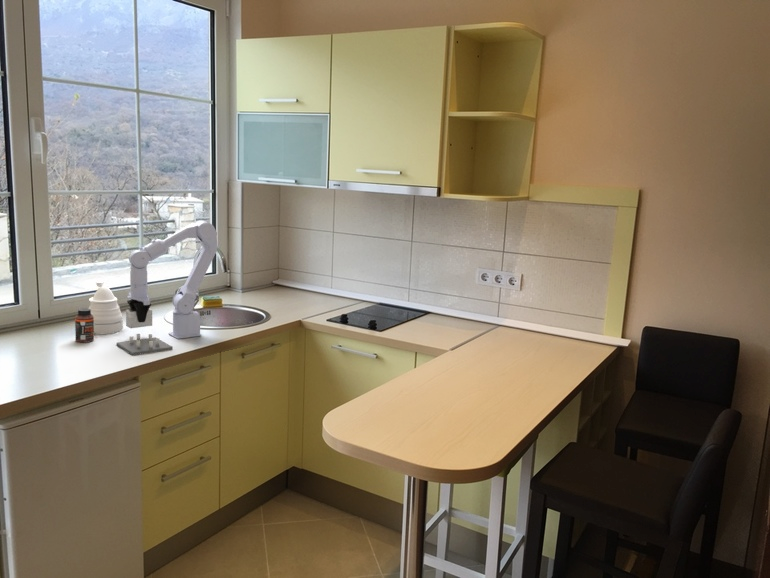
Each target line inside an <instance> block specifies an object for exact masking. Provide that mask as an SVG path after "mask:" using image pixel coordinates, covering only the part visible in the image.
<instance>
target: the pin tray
mask: <svg viewBox="0 0 770 578" xmlns="http://www.w3.org/2000/svg"><path fill="white" fill-rule="evenodd" d="M116 346H117V347H119V348H120V349H122V350H123V351H125V352H126V353H128V354H129V355H130V356H139V355H145V354H153V353H159V352H165V350H166V351H172V350H171V349H173V346H172V345H170V344H169V343H166V342H165V341H164V340H161V339H160V338H159V337H153V334H151V333H149V334H148V337H147V338H141V334H140V333H136V339H134V336H129V340H126V341H125V340H123V341H120V342H119V341H118V342H116Z"/></svg>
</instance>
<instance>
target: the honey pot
mask: <svg viewBox="0 0 770 578" xmlns="http://www.w3.org/2000/svg"><path fill="white" fill-rule="evenodd" d="M95 284H96V287H98V289H97V290H96V291H95V292H94V295H93V296H92V297H90V298H89V299H88V302H89V306H88V308H87V309H91V315H93V317H94V334H98V333H105V334H113V332H114V333H118V332H120V331H122V330H123V328H124V325H123V324H124V322H123V320H124V319H123V314H122V312H121V309H120V308H121V307H120V305H119V304H118V298H117V297H116V296H115V295H114V293H113V291H112V290H111V289H110V288H109V287H108V286H106V285H104V281H102V280H100V281H98V280H97V281H96V282H95Z"/></svg>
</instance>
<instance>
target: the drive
mask: <svg viewBox="0 0 770 578" xmlns="http://www.w3.org/2000/svg"><path fill="white" fill-rule="evenodd" d="M125 324H126V325H125V326H126V327H127V328H129V329H138V328H145V327H152V326H153V309H151V308H149V310H148V312H147V316H146V320H145V322H139V321H138V316H137V311H136V309H131V308H130V309H125Z"/></svg>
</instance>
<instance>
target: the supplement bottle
mask: <svg viewBox="0 0 770 578" xmlns="http://www.w3.org/2000/svg"><path fill="white" fill-rule="evenodd" d="M77 313H78V314H77V315H75V318H74V322H75V323H74V326H75V327H74V328H75V330H74V332H75V341H76V342H78V343H89V342H92V341H94V340H95V339H94V338H95V333H94V317H93V315H91V309H88V308H84V307H83V308H79V309H77Z"/></svg>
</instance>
